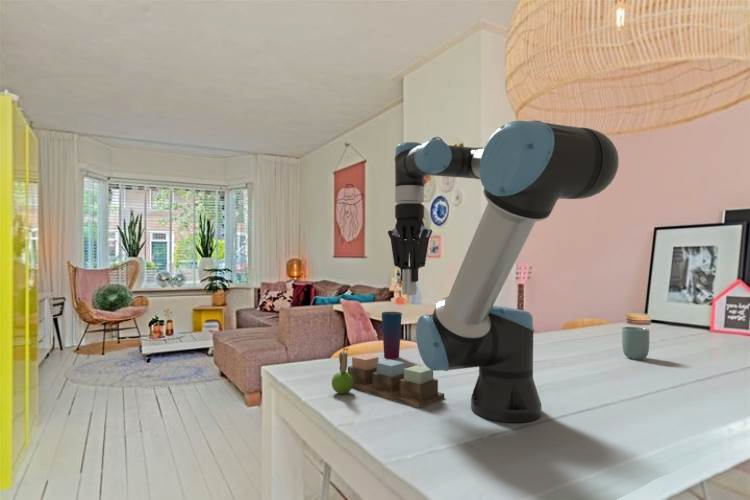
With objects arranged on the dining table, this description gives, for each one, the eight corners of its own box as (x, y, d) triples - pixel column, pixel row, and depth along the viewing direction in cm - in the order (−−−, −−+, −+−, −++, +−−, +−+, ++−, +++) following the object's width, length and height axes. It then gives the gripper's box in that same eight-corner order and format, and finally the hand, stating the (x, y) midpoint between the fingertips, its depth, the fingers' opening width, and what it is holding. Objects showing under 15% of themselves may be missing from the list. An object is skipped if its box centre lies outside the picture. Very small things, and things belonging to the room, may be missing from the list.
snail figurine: (334, 399, 108) (334, 349, 108) (329, 391, 114) (330, 343, 115) (356, 397, 110) (356, 347, 110) (350, 389, 116) (350, 342, 116)
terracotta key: (378, 368, 121) (378, 356, 121) (365, 371, 117) (365, 360, 117) (365, 364, 124) (365, 354, 124) (352, 368, 121) (352, 357, 121)
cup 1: (379, 358, 149) (379, 313, 149) (384, 354, 156) (384, 311, 156) (398, 360, 147) (399, 314, 147) (403, 355, 154) (403, 311, 154)
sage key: (433, 381, 109) (433, 368, 109) (420, 385, 105) (420, 372, 105) (416, 377, 112) (416, 365, 112) (404, 381, 108) (404, 369, 108)
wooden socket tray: (444, 397, 109) (444, 378, 109) (419, 408, 102) (419, 387, 102) (367, 377, 127) (367, 360, 127) (341, 384, 120) (341, 367, 120)
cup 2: (617, 357, 153) (617, 327, 153) (632, 354, 156) (632, 326, 157) (639, 362, 146) (638, 331, 146) (654, 359, 149) (654, 329, 149)
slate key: (404, 374, 115) (404, 362, 115) (391, 378, 111) (391, 366, 111) (389, 370, 118) (389, 359, 118) (376, 374, 115) (376, 362, 115)
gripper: (440, 203, 115) (439, 295, 115) (398, 206, 125) (397, 291, 125) (422, 200, 110) (422, 297, 110) (379, 204, 119) (379, 293, 119)
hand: (409, 294), depth 117 cm, fingers closed
